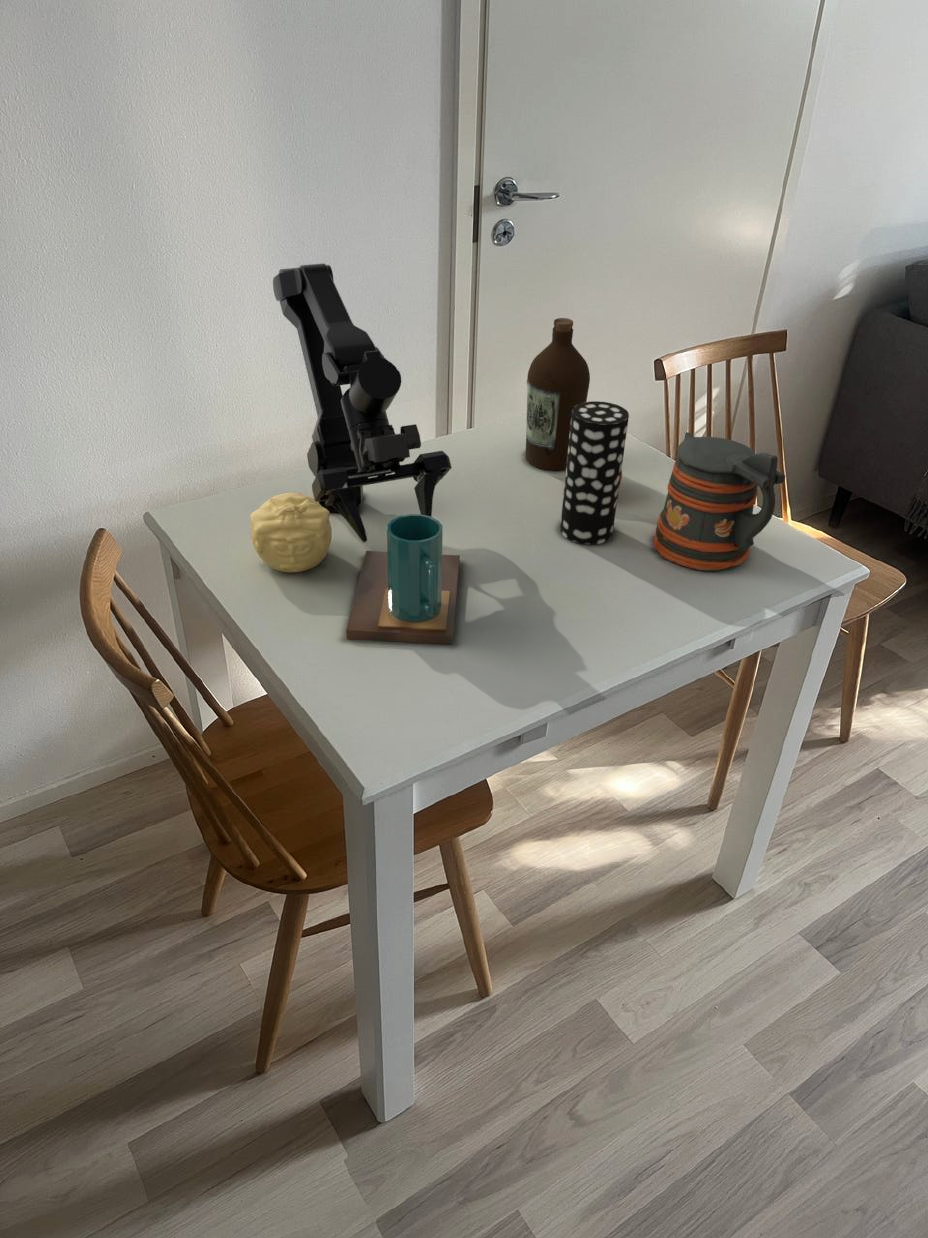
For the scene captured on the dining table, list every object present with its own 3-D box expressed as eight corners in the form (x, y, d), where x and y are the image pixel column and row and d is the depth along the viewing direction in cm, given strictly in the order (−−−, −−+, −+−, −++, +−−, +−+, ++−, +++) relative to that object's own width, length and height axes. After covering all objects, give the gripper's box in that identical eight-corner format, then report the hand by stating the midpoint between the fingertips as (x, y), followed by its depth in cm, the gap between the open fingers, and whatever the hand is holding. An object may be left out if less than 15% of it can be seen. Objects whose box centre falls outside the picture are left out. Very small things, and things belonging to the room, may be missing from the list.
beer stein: (791, 568, 145) (824, 447, 134) (724, 598, 138) (753, 473, 127) (699, 515, 158) (722, 400, 146) (633, 540, 151) (651, 421, 139)
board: (346, 639, 128) (345, 628, 127) (366, 559, 144) (365, 548, 143) (451, 644, 128) (452, 633, 127) (459, 563, 144) (460, 553, 143)
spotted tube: (578, 549, 148) (592, 428, 136) (550, 524, 154) (561, 406, 142) (623, 537, 151) (640, 418, 140) (593, 513, 157) (607, 397, 146)
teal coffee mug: (381, 598, 133) (379, 519, 125) (429, 588, 135) (430, 510, 128) (407, 640, 125) (407, 558, 118) (458, 628, 127) (460, 547, 120)
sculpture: (254, 585, 138) (246, 519, 131) (256, 541, 147) (249, 478, 141) (334, 580, 139) (331, 515, 133) (331, 537, 149) (328, 475, 142)
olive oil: (548, 440, 179) (559, 305, 165) (593, 459, 173) (609, 321, 159) (509, 457, 173) (518, 319, 158) (554, 478, 167) (567, 336, 152)
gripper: (312, 415, 123) (342, 531, 121) (448, 395, 129) (478, 506, 127) (300, 445, 133) (327, 553, 132) (425, 426, 139) (453, 529, 138)
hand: (397, 535), depth 132 cm, fingers open, 9 cm apart
